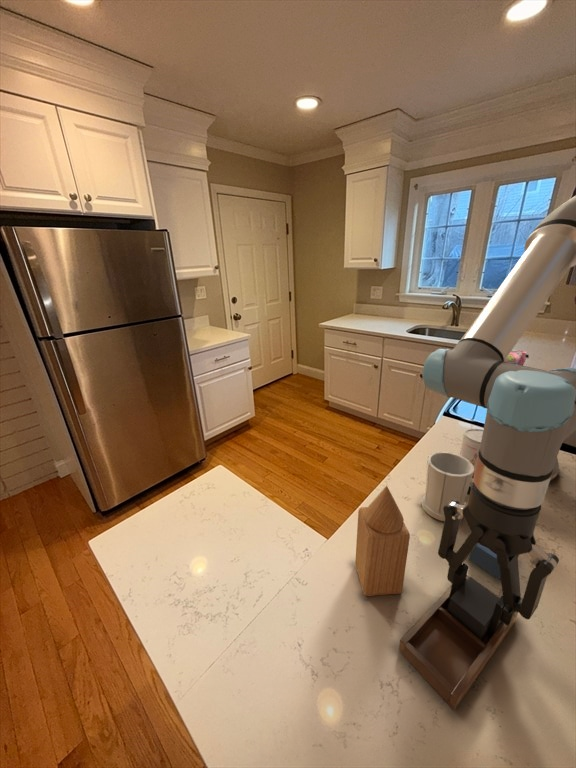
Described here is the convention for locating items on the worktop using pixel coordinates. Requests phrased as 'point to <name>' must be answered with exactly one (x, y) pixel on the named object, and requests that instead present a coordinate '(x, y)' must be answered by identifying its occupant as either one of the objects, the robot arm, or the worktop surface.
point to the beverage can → (471, 447)
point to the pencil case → (517, 357)
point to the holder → (448, 650)
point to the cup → (446, 482)
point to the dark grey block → (473, 607)
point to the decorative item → (381, 546)
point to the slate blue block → (485, 560)
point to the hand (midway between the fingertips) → (474, 613)
